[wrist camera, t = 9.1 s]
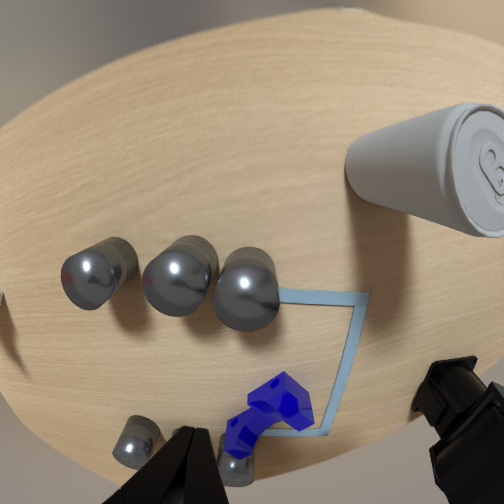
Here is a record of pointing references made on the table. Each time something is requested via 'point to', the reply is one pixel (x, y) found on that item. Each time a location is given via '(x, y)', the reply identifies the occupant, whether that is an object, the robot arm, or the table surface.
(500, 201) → the beverage can
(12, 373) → the table surface
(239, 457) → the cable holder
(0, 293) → the ink cartridge box
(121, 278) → the spacers
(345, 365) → the taped bay
